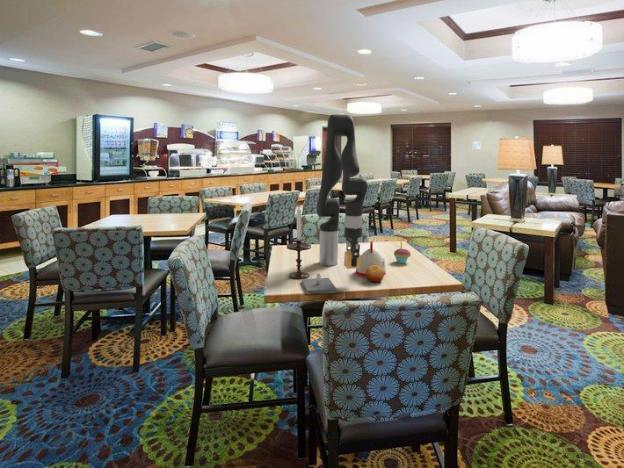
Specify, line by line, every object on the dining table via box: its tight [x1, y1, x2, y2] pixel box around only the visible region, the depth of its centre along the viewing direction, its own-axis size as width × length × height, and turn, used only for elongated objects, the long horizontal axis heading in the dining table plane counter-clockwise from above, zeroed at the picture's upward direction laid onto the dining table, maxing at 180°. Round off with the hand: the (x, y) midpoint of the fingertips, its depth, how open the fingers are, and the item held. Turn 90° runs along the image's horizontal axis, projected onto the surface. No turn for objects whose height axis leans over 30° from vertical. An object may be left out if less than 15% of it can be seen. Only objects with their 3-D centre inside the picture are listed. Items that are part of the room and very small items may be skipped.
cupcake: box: [393, 239, 412, 264], centre depth 221 cm, size 9×8×12 cm
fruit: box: [366, 265, 385, 283], centre depth 190 cm, size 8×8×8 cm
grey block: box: [301, 272, 338, 294], centre depth 181 cm, size 16×12×6 cm
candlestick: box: [286, 199, 312, 280], centre depth 193 cm, size 11×11×35 cm
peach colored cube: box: [343, 251, 362, 270], centre depth 184 cm, size 6×6×6 cm
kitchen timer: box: [355, 241, 387, 278], centre depth 201 cm, size 14×14×15 cm
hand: (352, 264), depth 184 cm, fingers closed on peach colored cube, 5 cm apart
